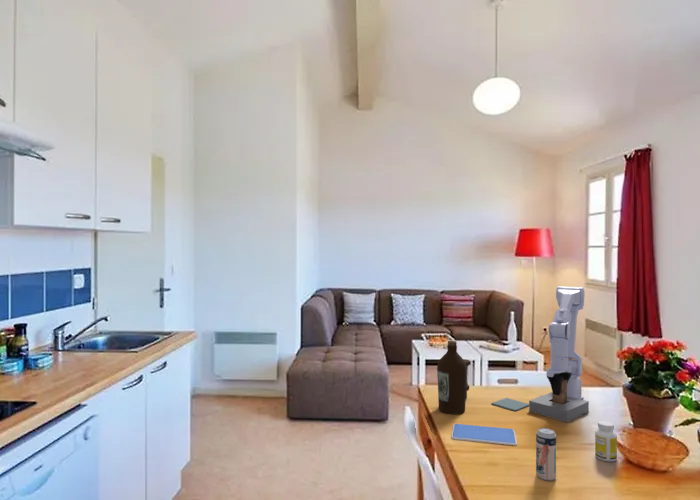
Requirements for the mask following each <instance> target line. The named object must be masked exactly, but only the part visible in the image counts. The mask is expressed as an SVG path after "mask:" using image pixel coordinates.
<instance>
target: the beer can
mask: <svg viewBox="0 0 700 500" xmlns="http://www.w3.org/2000/svg"><path fill="white" fill-rule="evenodd" d="M535 433H536V434H535V435H536V436H535V438H536V439H535V443H536V444H535V445H536V447H535V454H536V455H535V458H536V459H535V474H536V476H537V477H538V478H539V479H541V480H543V481H547V482H548V481H553V480H556V478H557V434H556V432H555V430H553V429H552V428H548V427H541V428H538V429H537V431H536V432H535Z"/></svg>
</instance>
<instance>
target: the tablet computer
mask: <svg viewBox="0 0 700 500" xmlns="http://www.w3.org/2000/svg"><path fill="white" fill-rule="evenodd" d="M450 438H451V440H456V441H468V442H477V443H485V444H494V445H495V444H497V445H503V444H504V445H505V446H512V445H513V446H518V443H517V437H516V432H515V429H513V428H505V427H496V426H495V427H494V426H483V425H472V424H465V423H463V424H462V423H453V426H452V431H451V437H450Z"/></svg>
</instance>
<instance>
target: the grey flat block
mask: <svg viewBox="0 0 700 500" xmlns="http://www.w3.org/2000/svg"><path fill="white" fill-rule="evenodd" d="M589 402H590V401H588V400H584V399H577V398H573V397H569V396H567V402H566V403H564V404H559V403H555V402H552V391H550V392H549V393H545V394H542V395H541V396H539V397H536V398H533V399H530V400H529V401H528V404H529V406H528V407H529V408H528V409H529V412H531V413H535V414H537V415H541V416H544V417H548V418H552V419H555V420H559V421H562V422H565V423H569V422H571V421H573V420H575V419H577V418H579V417H582V416H583V415H585V414H587V413H590V411H589V410H590V409H589V407H590V404H589Z"/></svg>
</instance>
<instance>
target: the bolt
mask: <svg viewBox="0 0 700 500" xmlns="http://www.w3.org/2000/svg"><path fill="white" fill-rule="evenodd" d="M462 359H463V360H464V361H465V363H466V366H467V367H468V366H470V365H472V364H471V361H470V360H469V359H465V358H462ZM469 390H470V385H469V384H468V378H467V379H466V397H465V400H467V398H468V391H469Z"/></svg>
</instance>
